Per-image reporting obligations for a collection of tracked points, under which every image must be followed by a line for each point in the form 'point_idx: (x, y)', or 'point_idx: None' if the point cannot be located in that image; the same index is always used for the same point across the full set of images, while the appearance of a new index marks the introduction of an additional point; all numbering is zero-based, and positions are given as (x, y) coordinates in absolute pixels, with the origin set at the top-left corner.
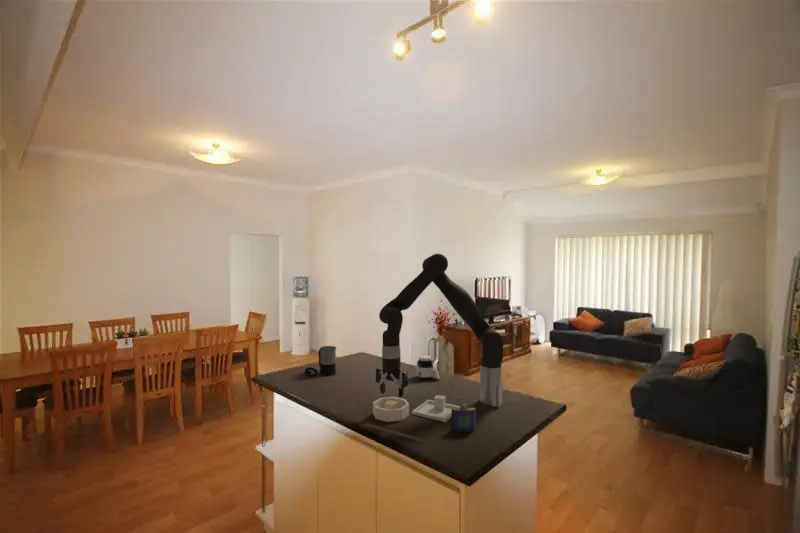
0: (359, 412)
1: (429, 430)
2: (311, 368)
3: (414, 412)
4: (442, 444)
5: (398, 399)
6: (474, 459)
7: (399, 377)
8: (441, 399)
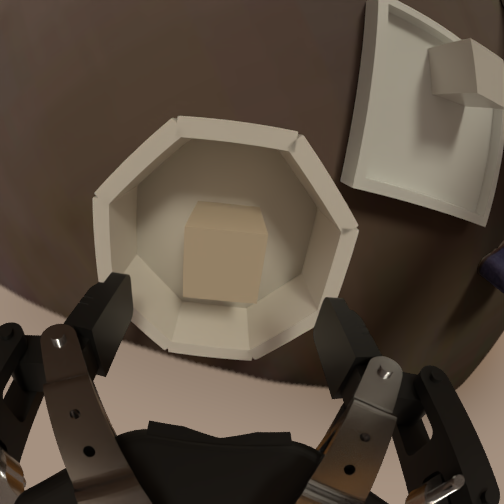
0: (62, 250)
1: (424, 286)
2: None
3: (364, 189)
4: (445, 339)
5: (235, 142)
6: (480, 350)
7: (368, 465)
8: (500, 106)
